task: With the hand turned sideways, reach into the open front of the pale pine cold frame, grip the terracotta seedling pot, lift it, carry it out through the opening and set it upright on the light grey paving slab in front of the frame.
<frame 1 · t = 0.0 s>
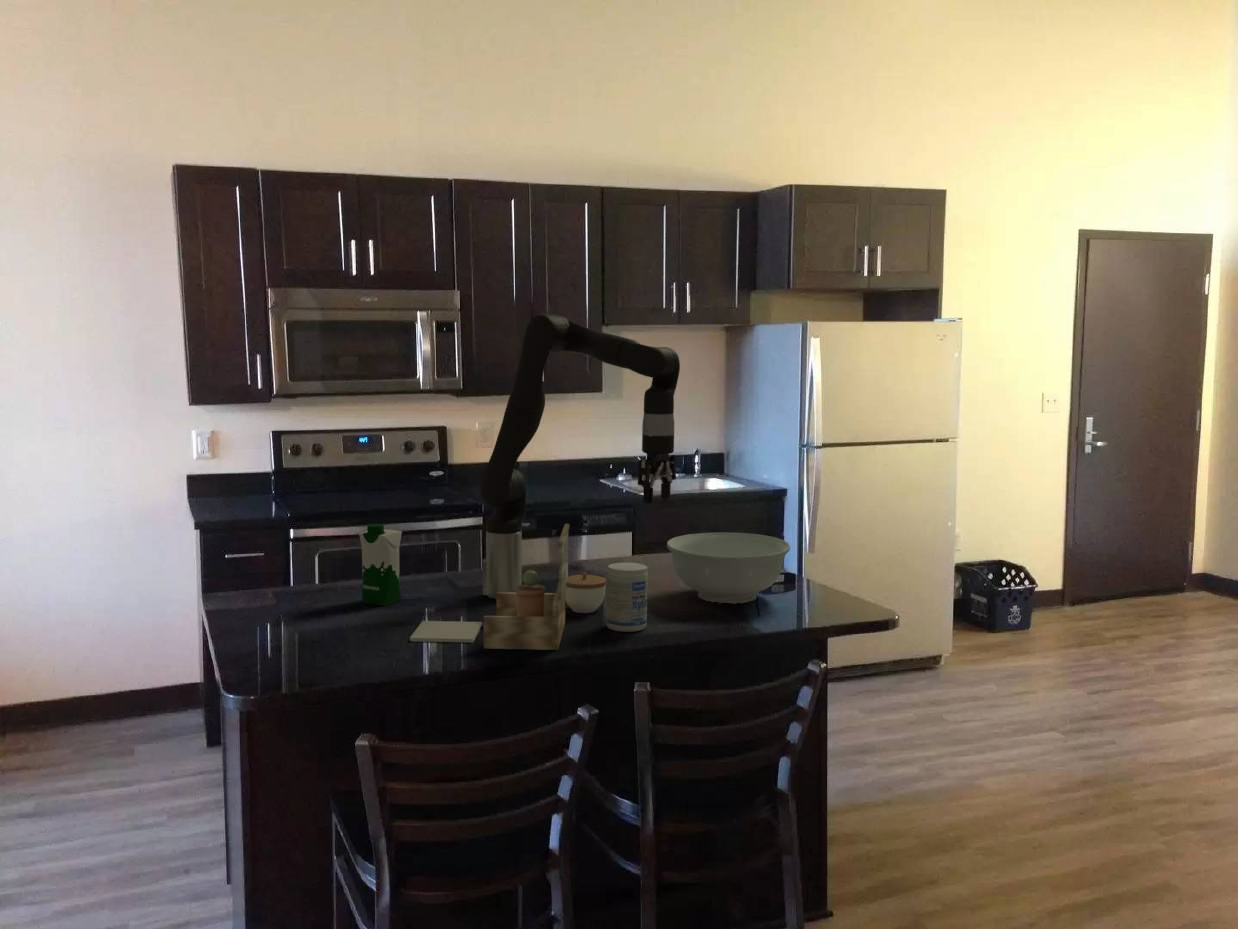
hand: (656, 501, 250), 29 cm above the counter, tool pointing down, fingers open, 8 cm apart
milk carton: (381, 602, 269), on the counter
lidded jar: (584, 610, 264), on the counter
cold frame: (525, 634, 241), on the counter
terracotta pot: (530, 634, 241), on the counter
bowl: (726, 598, 279), on the counter
paving slab: (447, 633, 242), on the counter
supplement tub: (626, 628, 248), on the counter
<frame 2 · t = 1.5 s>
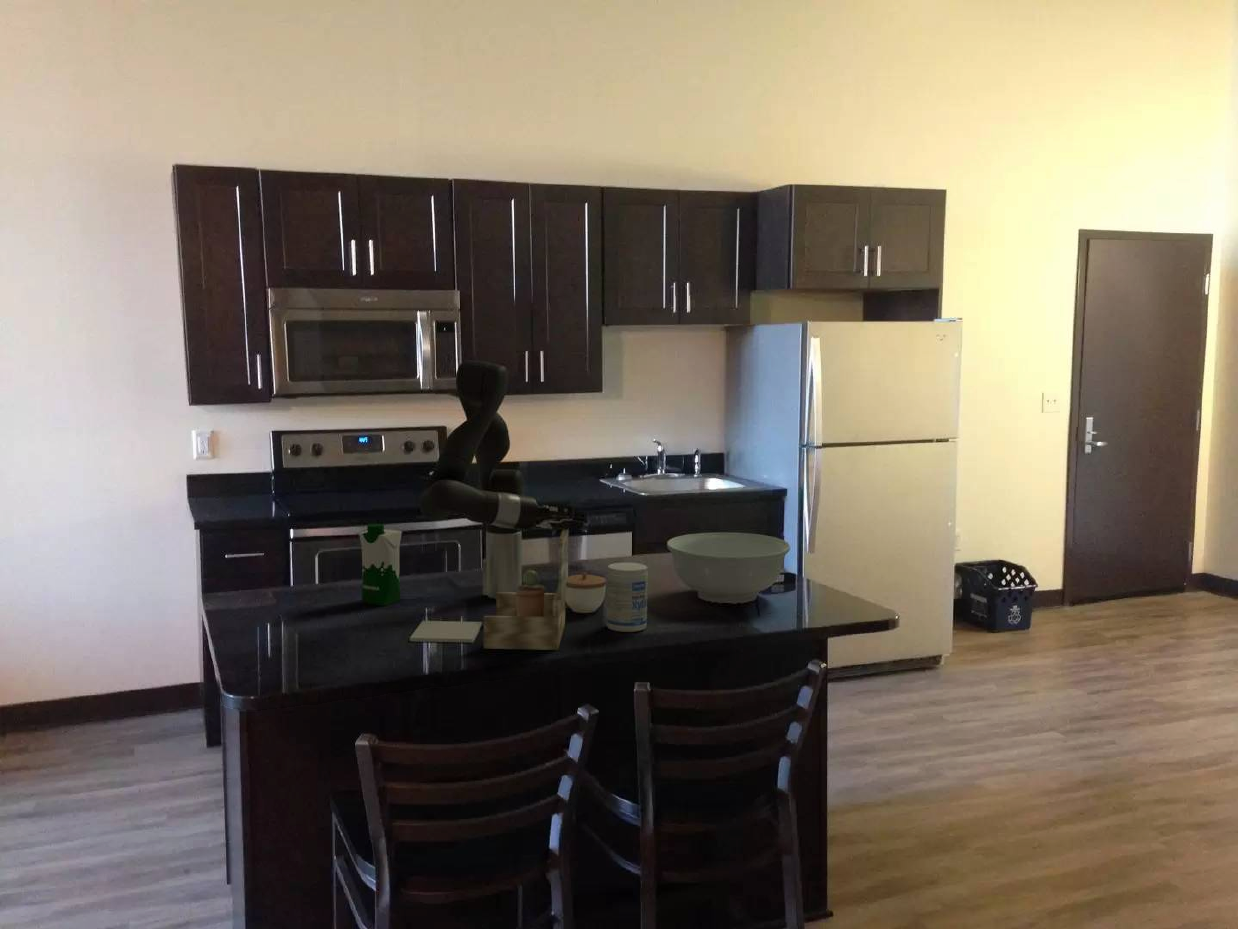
hand: (577, 521, 239), 26 cm above the counter, tool horizontal, fingers open, 7 cm apart
nothing on the counter moved.
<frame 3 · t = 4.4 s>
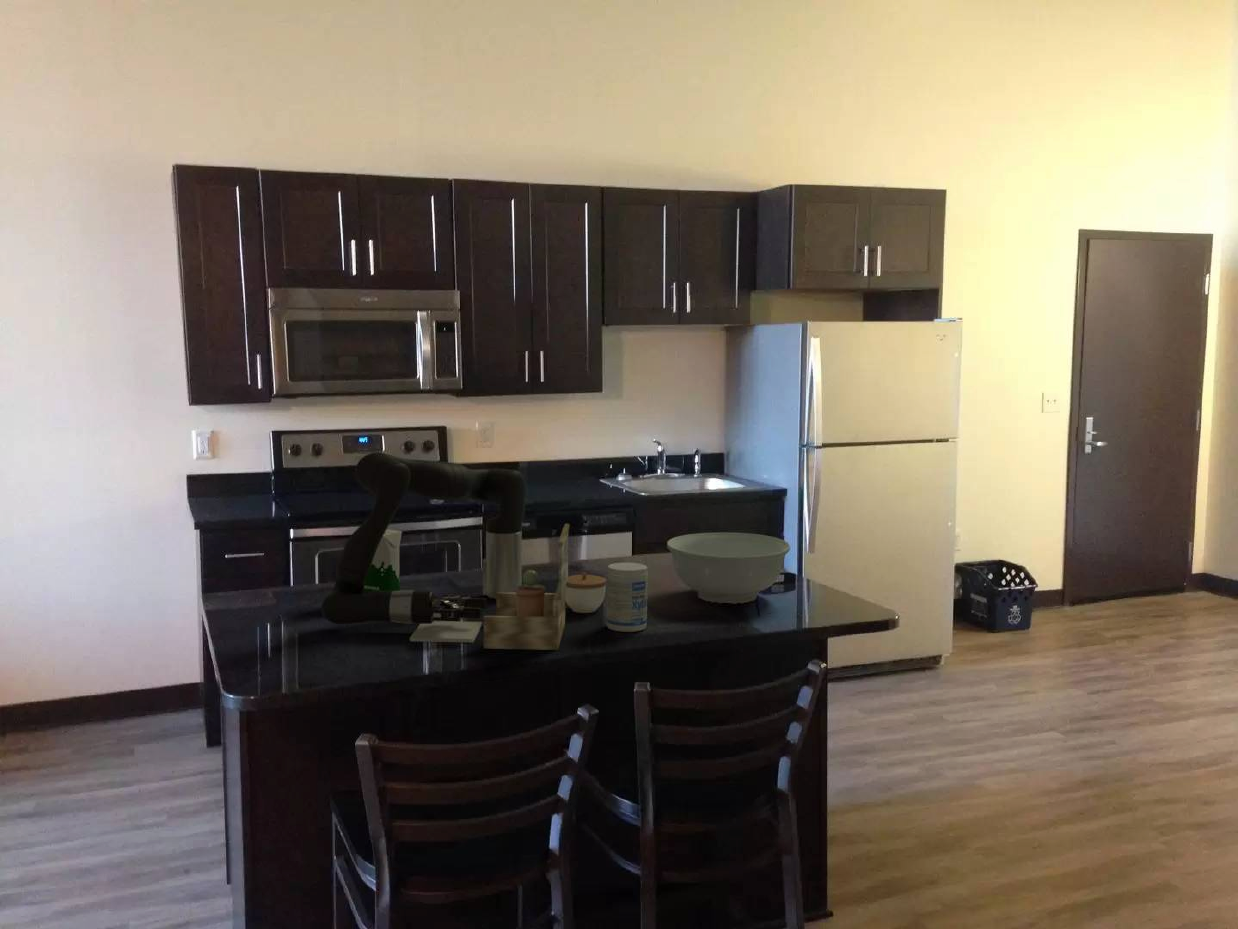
hand: (483, 608, 241), 6 cm above the counter, tool horizontal, fingers open, 8 cm apart
nothing on the counter moved.
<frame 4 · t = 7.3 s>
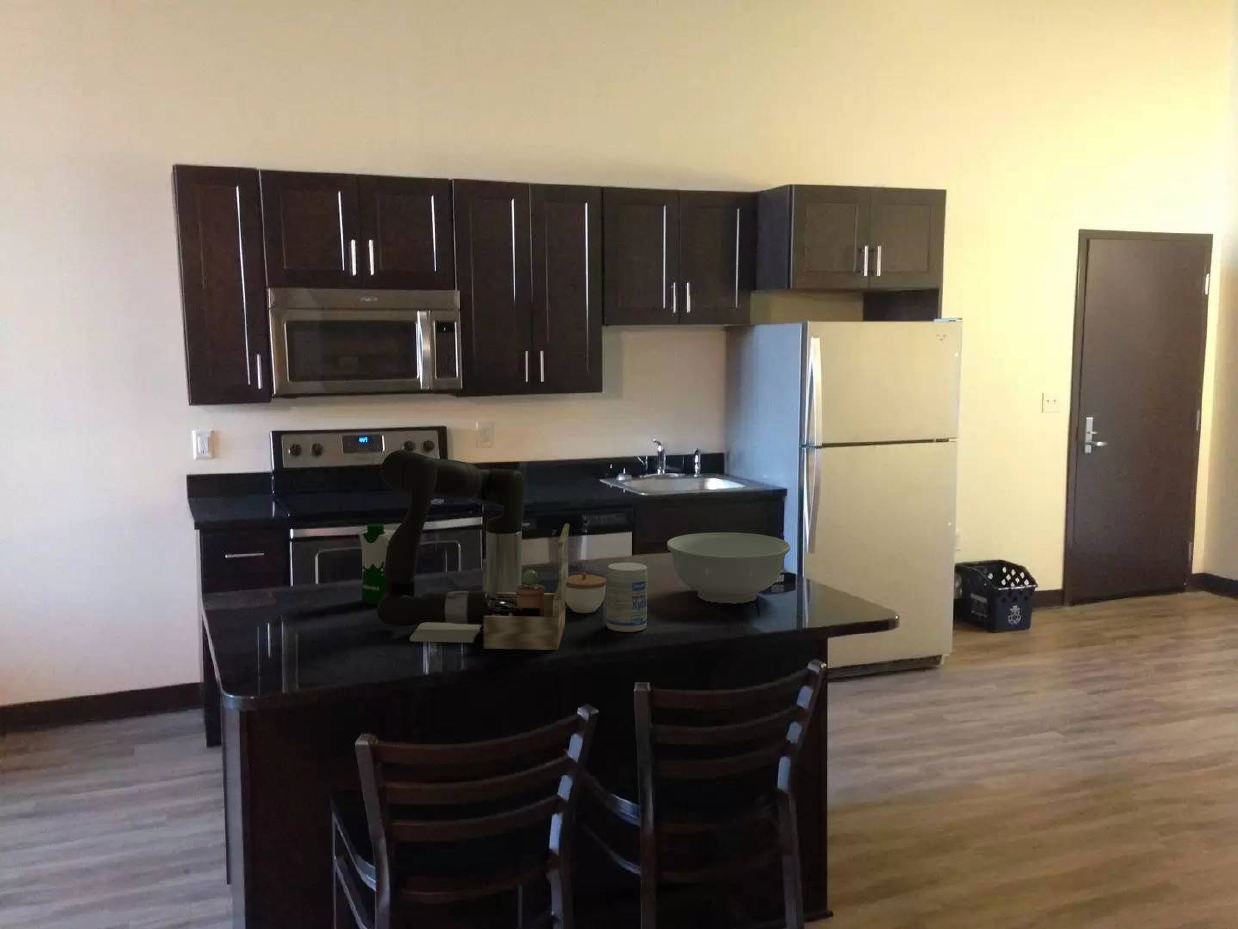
hand: (541, 609, 240), 6 cm above the counter, tool horizontal, fingers closed on terracotta pot, 6 cm apart
terracotta pot: (530, 634, 241), on the counter, touching gripper
everything else where it was.
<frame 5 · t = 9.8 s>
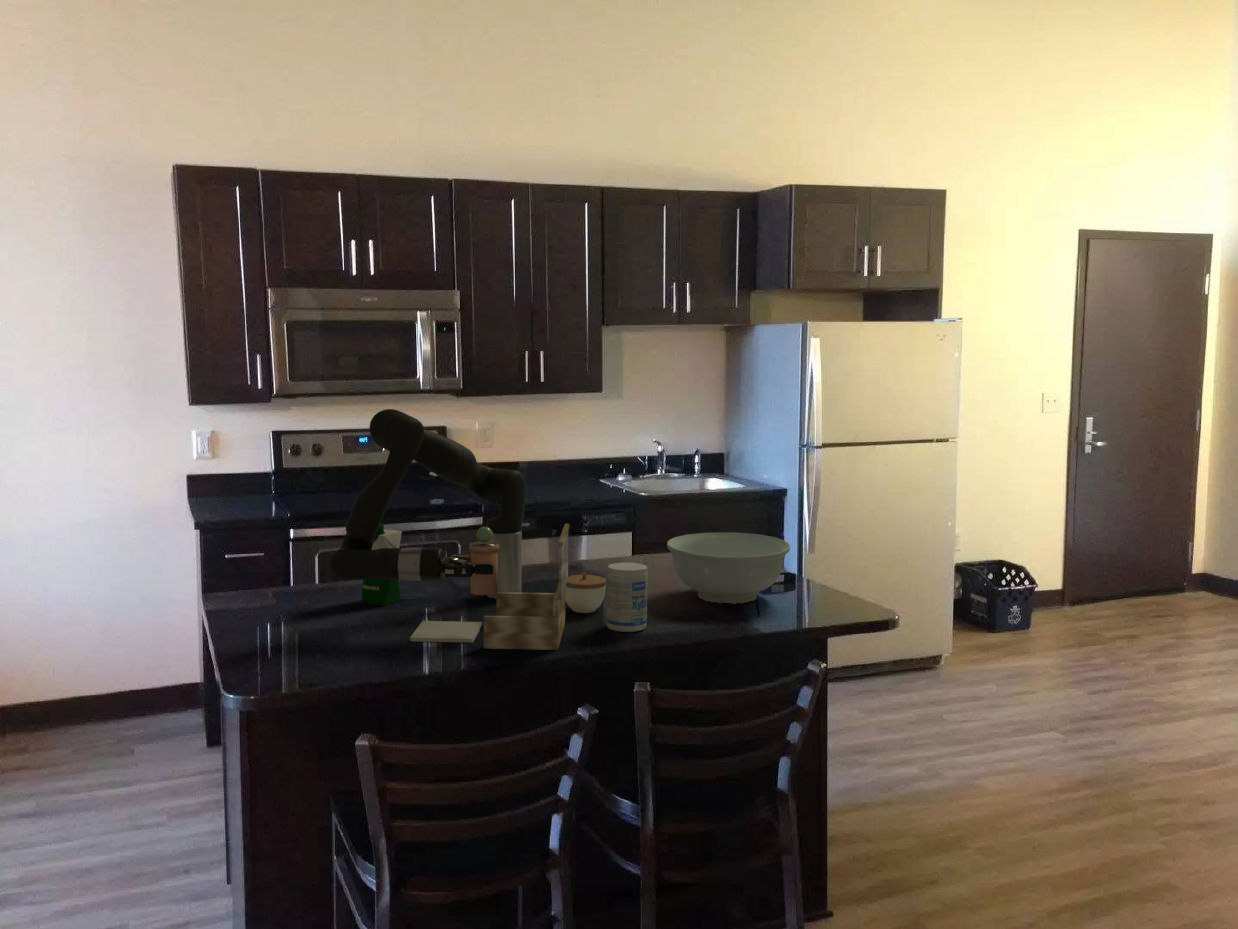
hand: (494, 566, 239), 16 cm above the counter, tool horizontal, fingers closed on terracotta pot, 6 cm apart
terracotta pot: (484, 592, 240), point 10 cm above the counter, touching gripper
everything else where it was.
when the fingers open (8 cm above the counter, at t = 12.5 s): terracotta pot drops 1 cm, resting on paving slab.
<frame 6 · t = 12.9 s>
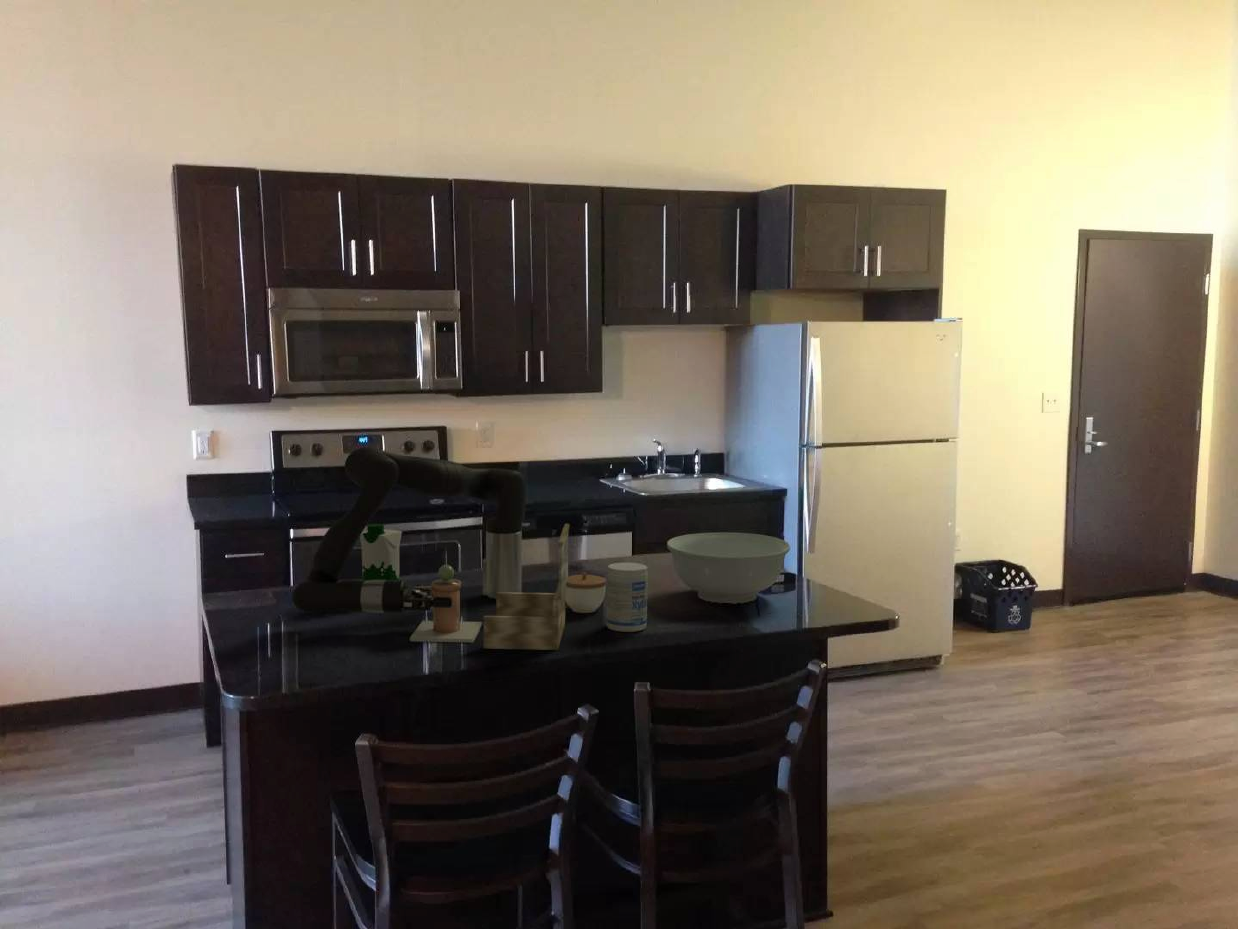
hand: (455, 597, 240), 8 cm above the counter, tool horizontal, fingers open, 8 cm apart
terracotta pot: (446, 629, 242), point 1 cm above the counter, touching paving slab
everything else where it was.
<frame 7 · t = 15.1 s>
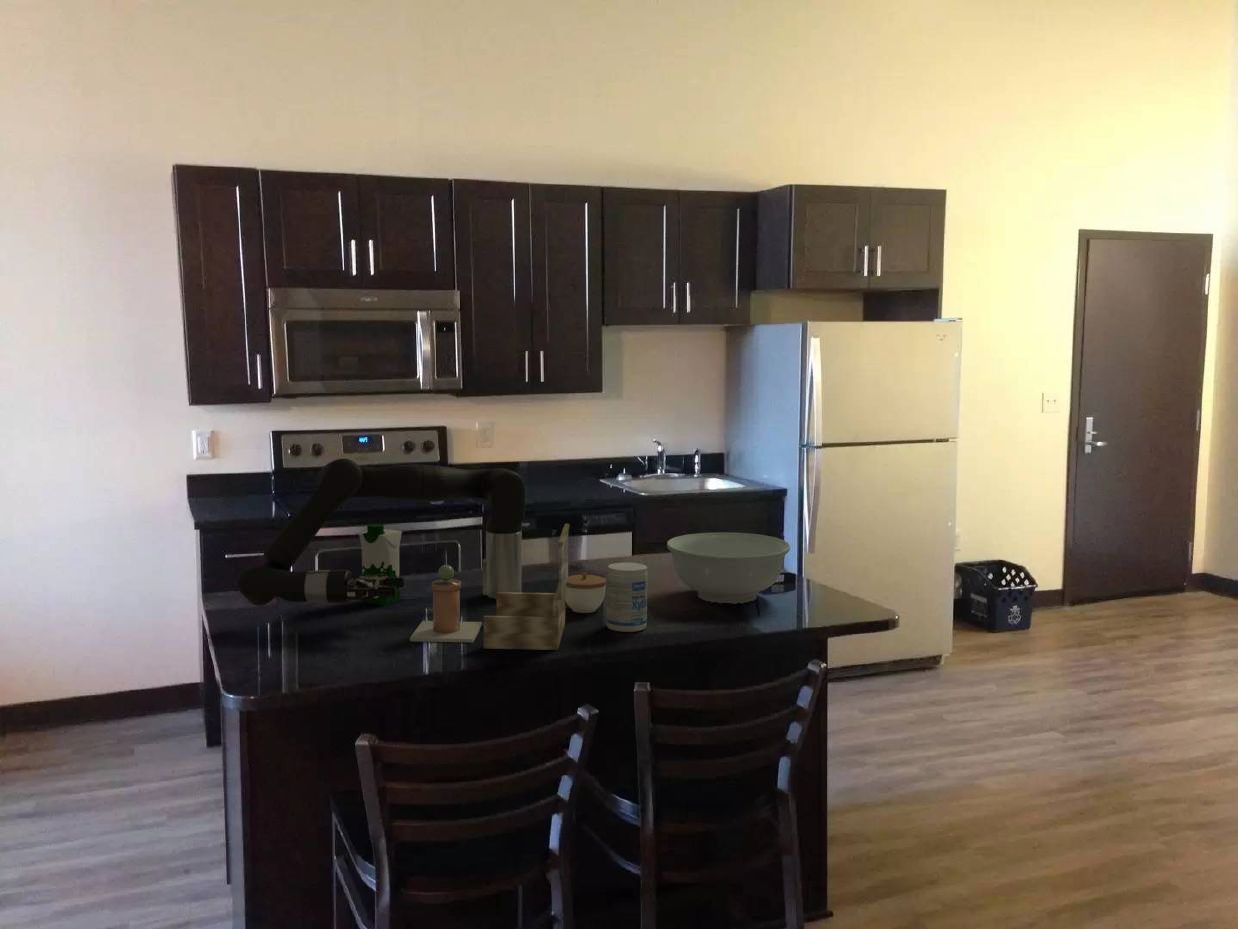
hand: (400, 586, 240), 11 cm above the counter, tool horizontal, fingers open, 8 cm apart
nothing on the counter moved.
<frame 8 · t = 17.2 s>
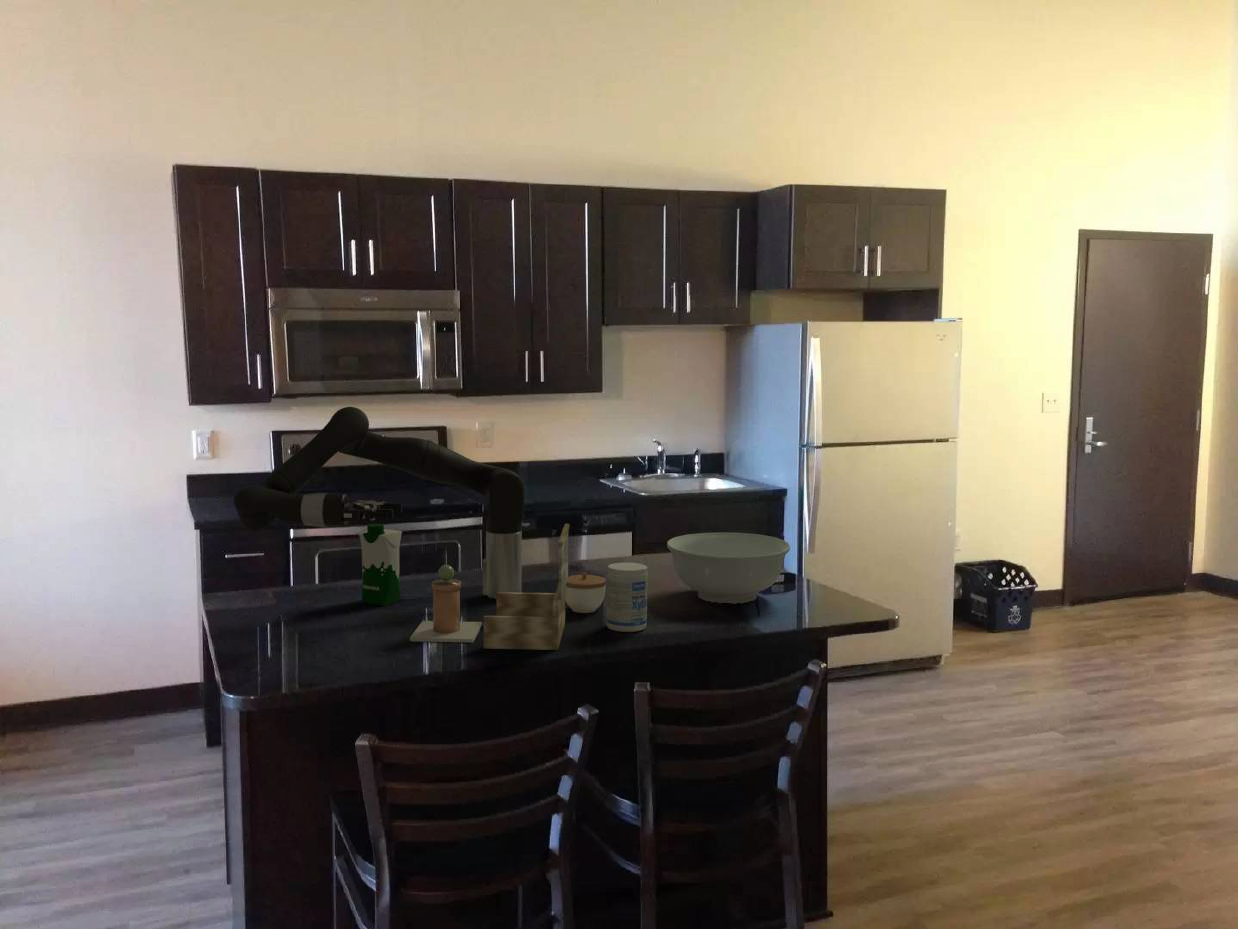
hand: (397, 511, 238), 28 cm above the counter, tool horizontal, fingers open, 8 cm apart
nothing on the counter moved.
at the end: terracotta pot inside the target area (0.2 cm from its centre), point 0.8 cm above the counter; terracotta pot tilted 0°; the gripper is holding nothing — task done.
